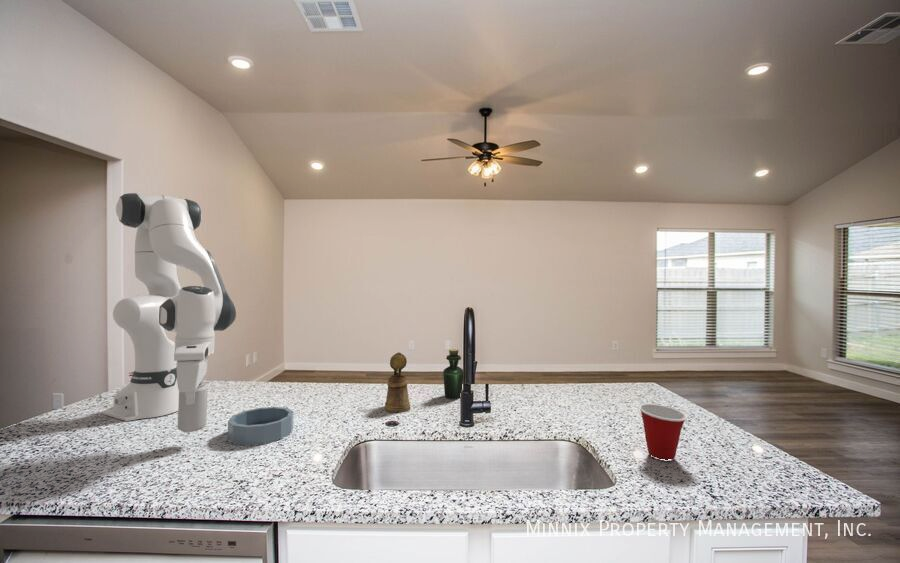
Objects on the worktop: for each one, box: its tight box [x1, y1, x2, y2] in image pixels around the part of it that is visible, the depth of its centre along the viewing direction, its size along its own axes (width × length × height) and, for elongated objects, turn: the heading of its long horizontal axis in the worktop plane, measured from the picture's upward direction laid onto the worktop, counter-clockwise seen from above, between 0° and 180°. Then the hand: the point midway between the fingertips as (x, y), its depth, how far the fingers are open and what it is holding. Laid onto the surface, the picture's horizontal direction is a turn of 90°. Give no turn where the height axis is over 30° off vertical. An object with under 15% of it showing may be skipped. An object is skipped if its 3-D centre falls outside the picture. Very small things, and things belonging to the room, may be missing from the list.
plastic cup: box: [638, 403, 688, 460], centre depth 99 cm, size 11×11×12 cm
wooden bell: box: [384, 352, 411, 413], centre depth 137 cm, size 9×14×18 cm, turn 5°
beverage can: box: [177, 380, 209, 433], centre depth 103 cm, size 6×6×12 cm
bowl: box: [227, 406, 294, 446], centre depth 112 cm, size 16×16×5 cm
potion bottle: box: [442, 348, 464, 400], centre depth 150 cm, size 8×8×18 cm
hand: (193, 399), depth 103 cm, fingers closed on beverage can, 6 cm apart
